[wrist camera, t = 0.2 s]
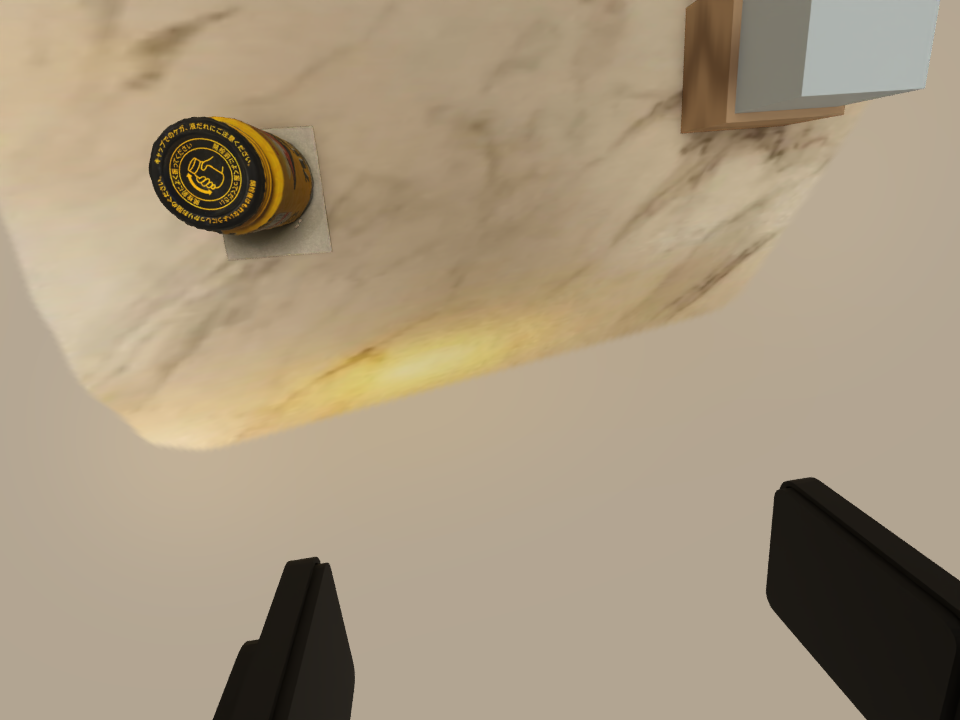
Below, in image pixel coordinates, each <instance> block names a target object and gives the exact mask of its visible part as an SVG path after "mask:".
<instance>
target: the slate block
mask: <svg viewBox="0 0 960 720" xmlns="http://www.w3.org/2000/svg"><path fill="white" fill-rule="evenodd" d="M939 4H940V0H743V5H742V19H741V33H740V47H739V60H738V74H737V88H736V102H735V113H749V112H764V111H779V110H793V109H808V108H823V107H837V106H843V105H847V104H852V103H857V102H862V101H867V100H871V99H876V98H881V97H885V96H891V95H895V94H900V93H905V92H910V91H915V90H919V89H924V88H925V84H926V79H927V73H928V67H929V61H930V56H931V49H932V44H933V38H934V33H935V27H936V21H937V15H938V10H939Z"/></svg>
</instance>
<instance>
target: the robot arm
mask: <svg viewBox="0 0 960 720" xmlns="http://www.w3.org/2000/svg"><path fill="white" fill-rule="evenodd" d="M766 595H767V599H768V602H769V604H770V606H771V608H772V609H773V610H774V612H775V613H776V614H777V615H778V616H779V618H780V619H781V620H782V621H783V622H784V623H785V625H786V626H787V627H788V628H789V629H790V630H791V632H792V633H793V634H794V635H795V636H796V637H797V639H798V640H799V641H800V642H801V643H802V645H803V646H804V647H805V648H806V649H807V650H808V651H809V653H810V654H811V655H812V656H813V657H814V659H815V660H816V661H817V662H818V663H819V664H820V666H821V667H822V668H823V669H824V670H825V671H826V673H827V674H828V675H829V676H830V677H831V678H832V679H833V681H834V682H835V683H836V684H837V685H838V687H839V688H840V689H841V690H842V691H843V692H844V694H845V695H846V696H847V697H848V698H849V699H850V701H851V702H852V703H853V704H854V705H855V707H856V708H857V709H858V710H859V711H860V712H861V714H862V715H863V716H864V717H865V718H866V719H867V720H960V581H959V580H958V579H957V578H955V577H954V576H952V575H951V574H950V573H948V572H947V571H945V570H944V569H943V568H941V567H940V566H938V565H937V564H935V563H934V562H932V561H931V560H930V559H928V558H927V557H926V556H924V555H923V554H922V553H920V552H919V551H917V550H916V549H915V548H913V547H912V546H910V545H909V544H908V543H906V542H905V541H903V540H902V539H900V538H899V537H898V536H896V535H895V534H894V533H892V532H891V531H889V530H888V529H887V528H885V527H884V526H882V525H881V524H879V523H878V522H877V521H875V520H874V519H873V518H871V517H870V516H868V515H867V514H865V513H864V512H863V511H861V510H860V509H859V508H857V507H856V506H854V505H853V504H852V503H850V502H849V501H847V500H846V499H844V498H843V497H842V496H840V495H839V494H837V493H836V492H835V491H833V490H832V489H830V488H829V487H828V486H826V485H825V484H824V483H822V482H821V481H819V480H817V479H816V478H811V477H809V478H803V479H796V480H790V481H786V482H783V483H782V485H781V487H780V489H779V490H777V491H776V493H775V496H774V506H773V517H772V529H771V540H770V552H769V562H768V574H767V585H766ZM354 684H355V672H354V664H353V660H352V655H351V651H350V648H349V643H348V639H347V634H346V630H345V626H344V622H343V617H342V613H341V609H340V605H339V601H338V597H337V592H336V588H335V584H334V580H333V575H332V571H331V568H330V565H329V563H323V564H321V563H320V560H319V558H318V557H312V558H306V559H300V560H294V561H288V562H287V564H286V565H285V568H284V570H283V573H282V576H281V579H280V582H279V585H278V587H277V590H276V593H275V596H274V599H273V602H272V604H271V607H270V610H269V613H268V616H267V619H266V621H265V624H264V627H263V630H262V633H261V636H260V638H259V639H258V640H253V641H247V642H246V643H245V644H244V645H243V646H242V647H241V649H240V651H239V654H238V656H237V658H236V661H235V664H234V666H233V669H232V671H231V674H230V676H229V679H228V682H227V684H226V687H225V689H224V692H223V694H222V697H221V700H220V702H219V705H218V707H217V710H216V713H215V715H214V718H213V720H350V717H351V708H352V701H353V693H354Z"/></svg>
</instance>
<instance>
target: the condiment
mask: <svg viewBox="0 0 960 720" xmlns="http://www.w3.org/2000/svg"><path fill="white" fill-rule="evenodd" d="M149 174H150V177H151V180H152V184H153V187H154V190H155V192H156V194H157V196H158V197H159V199H160V201H161V203H163V205H164V206H165V207H166V208H167V209H168V210H169V211H170V212H171V213H172V214H174V215H175V216H176V217H177V218H178V219H180V220H181V221H184V222H185V223H186V224H187V225H190V226H194V227H196V228H197V229H204V230H207V231H213V232H217V233H219V234H223V237H224V243H225V249H226V252H227V257H228V260H239V259H251V258H263V257H275V256H287V255H300V254H312V253H326V252H332V248H331V242H330V236H329V229H328V223H327V217H326V210H325V203H324V196H323V189H322V182H321V176H320V169H319V163H318V156H317V150H316V143H315V137H314V131H313V126H304V127H288V128H273V129H258V128H255V127H253V126H251V125H249V124H246V123H244V122H242V121H239V120H237V119H231V118H225V117H215V116H213V117H191V118H188V119H183V120H181V121H178V122H177V123H175V124H173V125H170V126H169V127H167V129H165V130H164V131H163V132H162V134H161V135H160V136H159V137H158V139H157V140H156V141H155V142H154V144H153V147H152V152H151V158H150V163H149ZM299 219H302V221H301V222H300V223H299V222H298V220H299ZM297 224H299V226H298V228H295V226H296V225H297Z"/></svg>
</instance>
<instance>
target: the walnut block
mask: <svg viewBox="0 0 960 720" xmlns="http://www.w3.org/2000/svg"><path fill="white" fill-rule="evenodd" d="M742 5H743V0H697V1H695V2H694V3H693V4H691V5H690V6H688V7H687V8H686V22H685V46H684V71H683V95H682V120H681V133H693V132H706V131H720V130H733V129H747V128H760V127H774V126H785V125H790V124H795V123H801V122H806V121H811V120H817V119H822V118H828V117H833V116H838V115H844V109H845V105H843V106H837V107H823V108H808V109H793V110H779V111H764V112H749V113H735V102H736V88H737V74H738V60H739V47H740V33H741V19H742Z"/></svg>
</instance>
